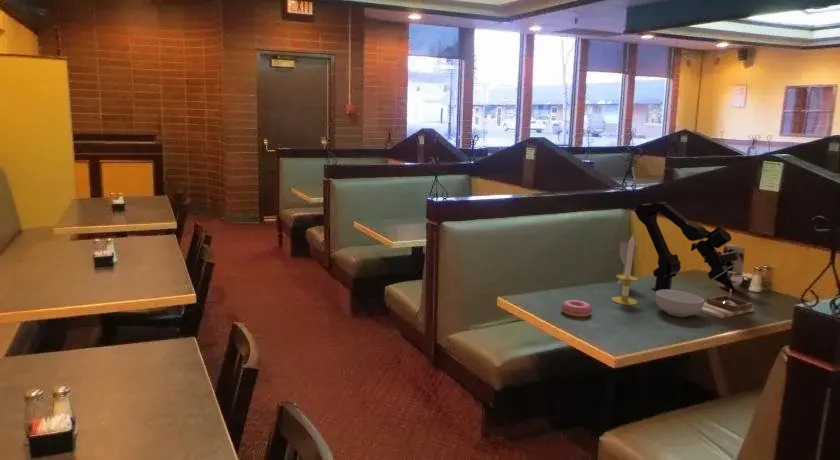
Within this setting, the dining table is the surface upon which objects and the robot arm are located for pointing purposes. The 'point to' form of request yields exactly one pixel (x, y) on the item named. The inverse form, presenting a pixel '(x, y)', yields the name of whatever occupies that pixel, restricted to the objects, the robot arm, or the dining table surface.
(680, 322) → the dining table surface
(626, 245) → the chalice
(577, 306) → the doughnut
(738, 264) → the food model
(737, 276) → the wineglass
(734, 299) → the brown wooden tray
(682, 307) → the cereal bowl
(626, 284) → the candle
